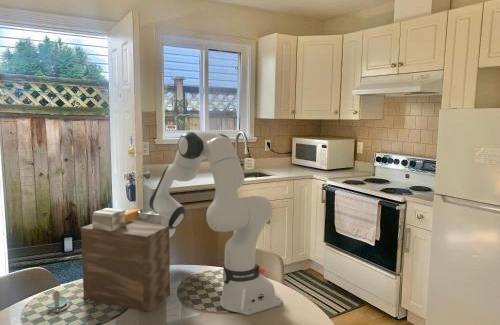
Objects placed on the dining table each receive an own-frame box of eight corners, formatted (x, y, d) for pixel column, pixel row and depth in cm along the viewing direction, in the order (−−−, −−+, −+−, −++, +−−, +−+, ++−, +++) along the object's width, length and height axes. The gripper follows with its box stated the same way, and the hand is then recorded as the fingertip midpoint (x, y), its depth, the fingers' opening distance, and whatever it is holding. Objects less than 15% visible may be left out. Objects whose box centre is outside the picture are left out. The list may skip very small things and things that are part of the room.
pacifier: (73, 304, 137) (58, 302, 138) (73, 287, 137) (58, 285, 138) (60, 314, 130) (44, 312, 131) (59, 297, 130) (44, 295, 131)
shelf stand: (109, 283, 154) (106, 203, 150) (169, 294, 145) (168, 209, 141) (83, 298, 141) (80, 211, 137) (148, 312, 132) (146, 219, 128)
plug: (135, 215, 156) (134, 207, 156) (142, 216, 155) (142, 208, 155) (104, 226, 139) (104, 218, 139) (112, 228, 138) (112, 219, 138)
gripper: (132, 213, 169) (113, 203, 157) (173, 217, 162) (157, 207, 150) (128, 226, 166) (109, 218, 154) (169, 232, 160) (152, 223, 148)
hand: (133, 213), depth 152 cm, fingers closed on plug, 3 cm apart
